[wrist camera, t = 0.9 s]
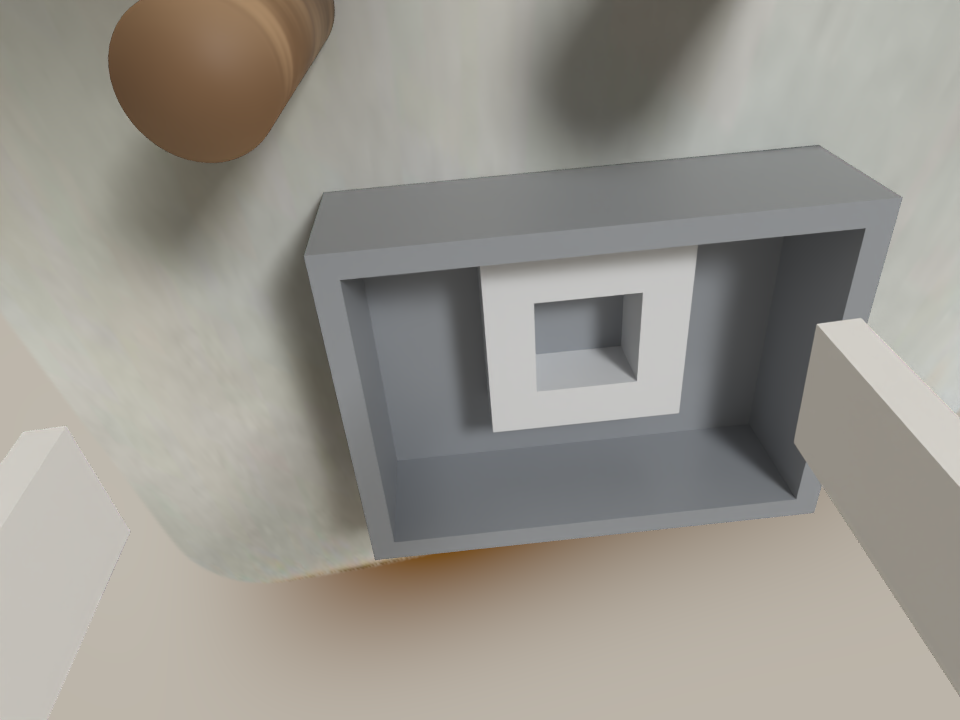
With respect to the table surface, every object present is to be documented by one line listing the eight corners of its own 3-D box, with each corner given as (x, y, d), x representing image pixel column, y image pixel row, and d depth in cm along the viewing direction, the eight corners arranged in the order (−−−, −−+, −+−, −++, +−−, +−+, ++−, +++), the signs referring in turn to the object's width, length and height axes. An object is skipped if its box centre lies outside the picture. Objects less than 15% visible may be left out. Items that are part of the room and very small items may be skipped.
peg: (223, -46, 28) (81, -2, 16) (324, -55, 28) (257, -17, 16) (249, 62, 30) (141, 169, 18) (342, 53, 30) (295, 155, 18)
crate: (323, 192, 33) (303, 255, 27) (819, 144, 34) (902, 197, 28) (380, 470, 43) (375, 559, 37) (761, 430, 44) (813, 512, 38)
